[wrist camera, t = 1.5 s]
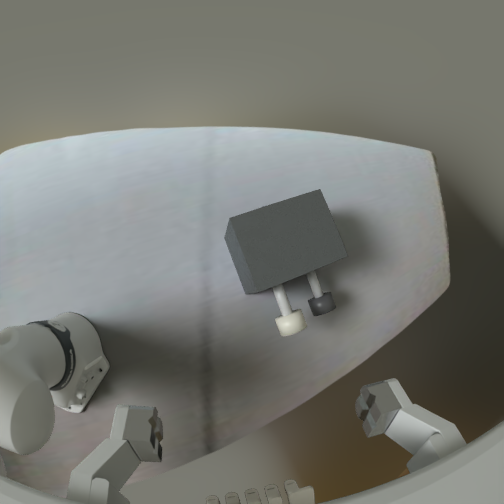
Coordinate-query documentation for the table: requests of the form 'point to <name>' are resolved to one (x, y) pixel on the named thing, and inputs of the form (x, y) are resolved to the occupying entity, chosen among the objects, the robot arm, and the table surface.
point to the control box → (283, 241)
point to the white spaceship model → (271, 495)
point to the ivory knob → (287, 314)
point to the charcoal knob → (319, 297)
